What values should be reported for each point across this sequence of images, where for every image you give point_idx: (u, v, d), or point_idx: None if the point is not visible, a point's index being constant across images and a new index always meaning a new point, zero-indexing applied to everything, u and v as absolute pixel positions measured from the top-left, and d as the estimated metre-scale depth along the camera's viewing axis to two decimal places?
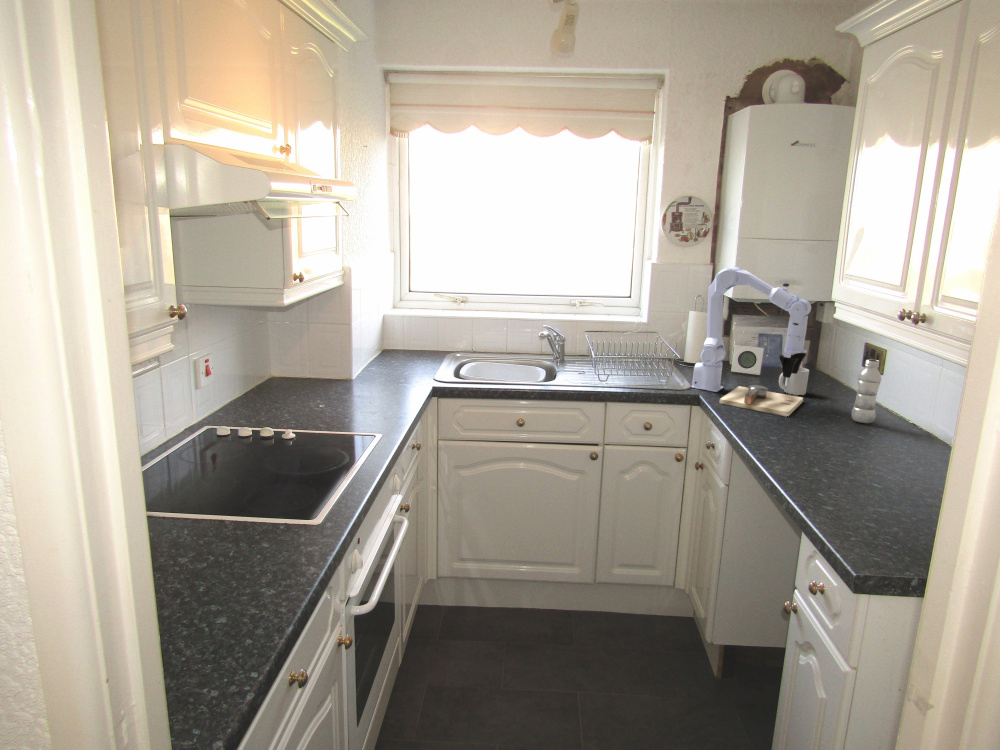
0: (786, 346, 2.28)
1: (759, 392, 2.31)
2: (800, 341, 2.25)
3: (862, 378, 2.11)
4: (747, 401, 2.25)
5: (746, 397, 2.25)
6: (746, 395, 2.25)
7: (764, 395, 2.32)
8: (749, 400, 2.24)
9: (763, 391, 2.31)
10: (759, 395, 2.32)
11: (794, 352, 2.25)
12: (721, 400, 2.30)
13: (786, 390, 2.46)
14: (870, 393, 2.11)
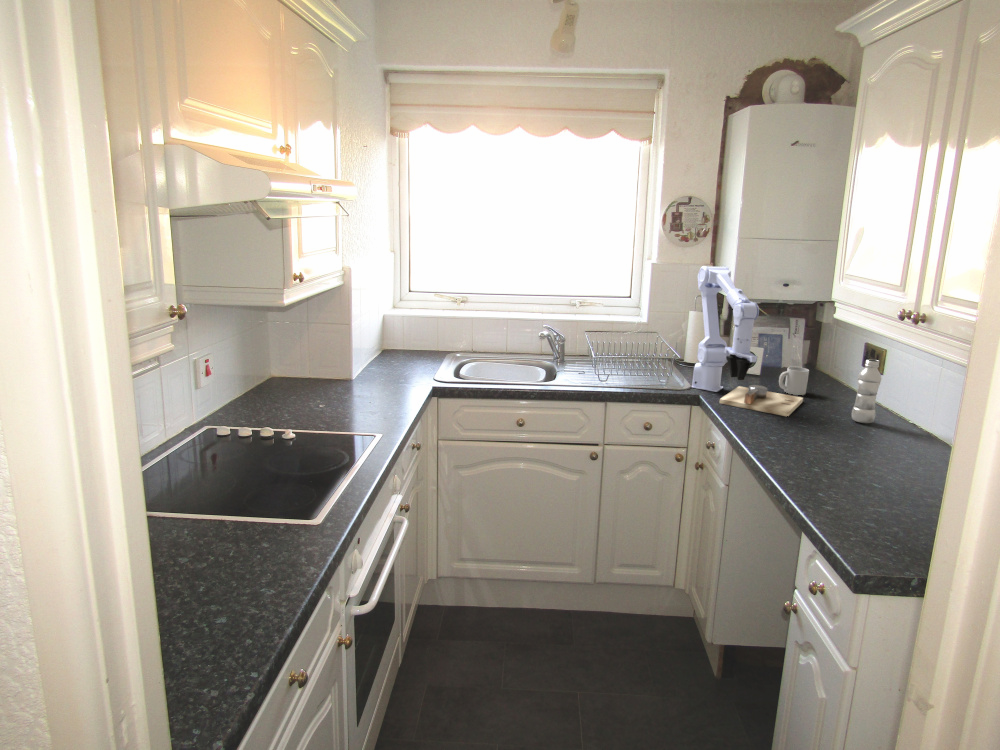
0: None
1: (759, 392, 2.31)
2: None
3: (862, 378, 2.11)
4: (747, 401, 2.25)
5: (746, 397, 2.25)
6: (746, 395, 2.25)
7: (764, 395, 2.32)
8: (749, 400, 2.24)
9: (763, 391, 2.31)
10: (759, 395, 2.32)
11: (728, 349, 2.32)
12: (721, 400, 2.30)
13: (786, 390, 2.46)
14: (870, 393, 2.11)
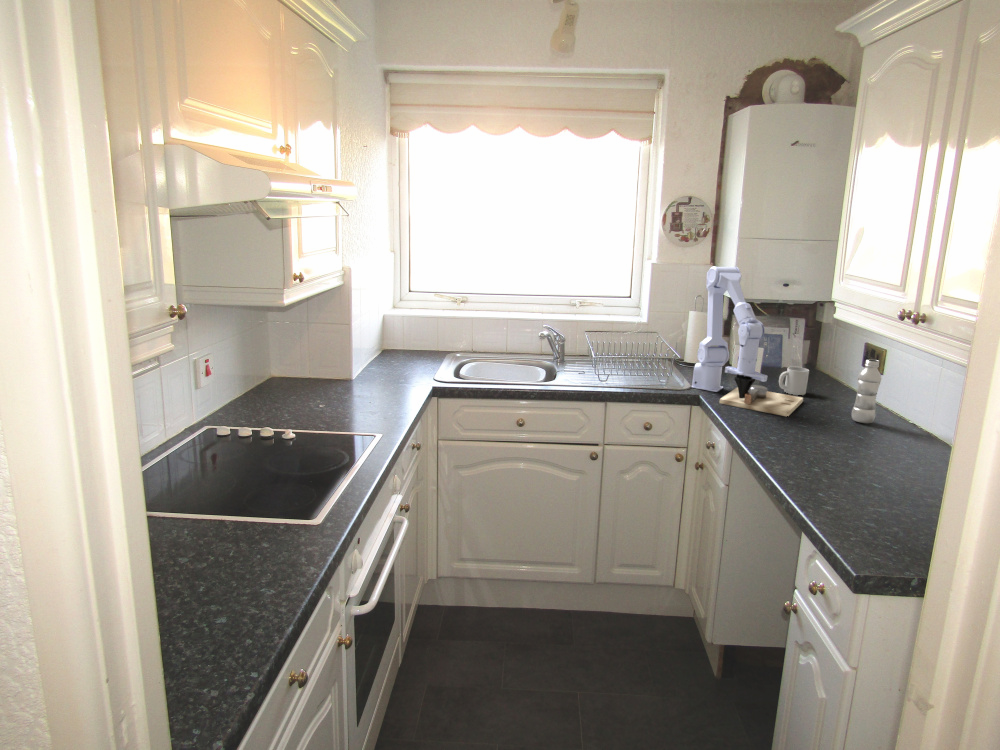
0: None
1: (759, 392, 2.31)
2: (738, 362, 2.26)
3: (862, 378, 2.11)
4: (747, 401, 2.25)
5: (746, 397, 2.25)
6: (746, 395, 2.25)
7: (764, 395, 2.32)
8: (749, 400, 2.24)
9: (763, 391, 2.31)
10: (759, 395, 2.32)
11: (730, 369, 2.29)
12: (721, 400, 2.30)
13: (786, 390, 2.46)
14: (870, 393, 2.11)
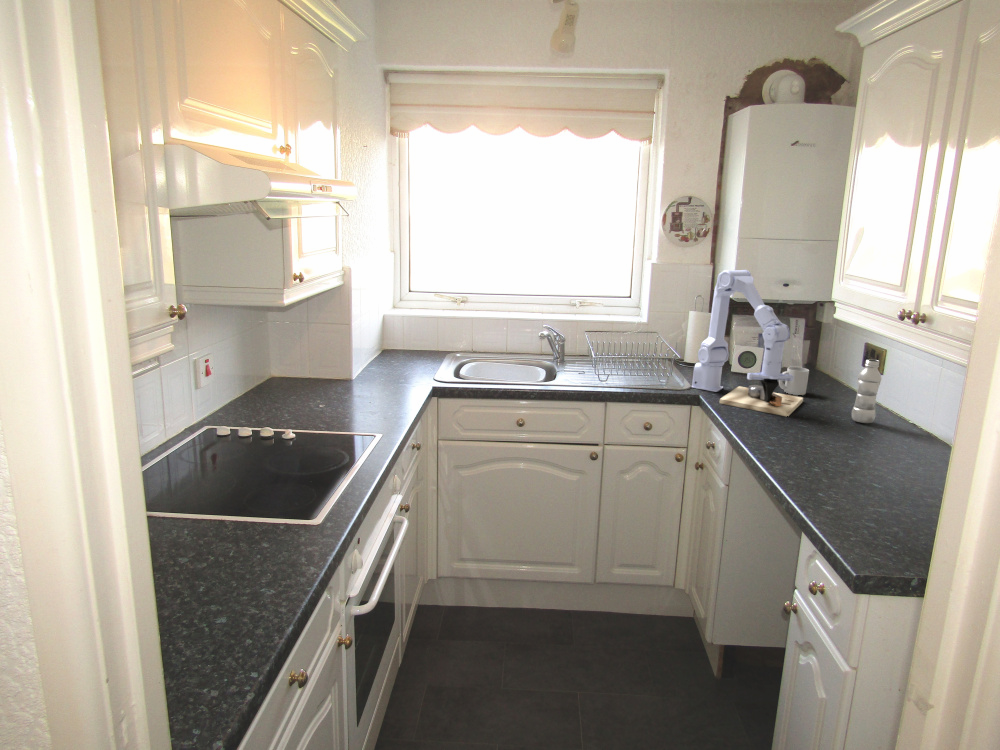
0: None
1: None
2: (768, 366, 2.21)
3: (862, 378, 2.11)
4: (778, 404, 2.23)
5: (777, 400, 2.23)
6: (777, 398, 2.23)
7: None
8: (780, 402, 2.23)
9: None
10: None
11: (758, 376, 2.22)
12: (721, 400, 2.30)
13: (786, 390, 2.46)
14: (870, 393, 2.11)
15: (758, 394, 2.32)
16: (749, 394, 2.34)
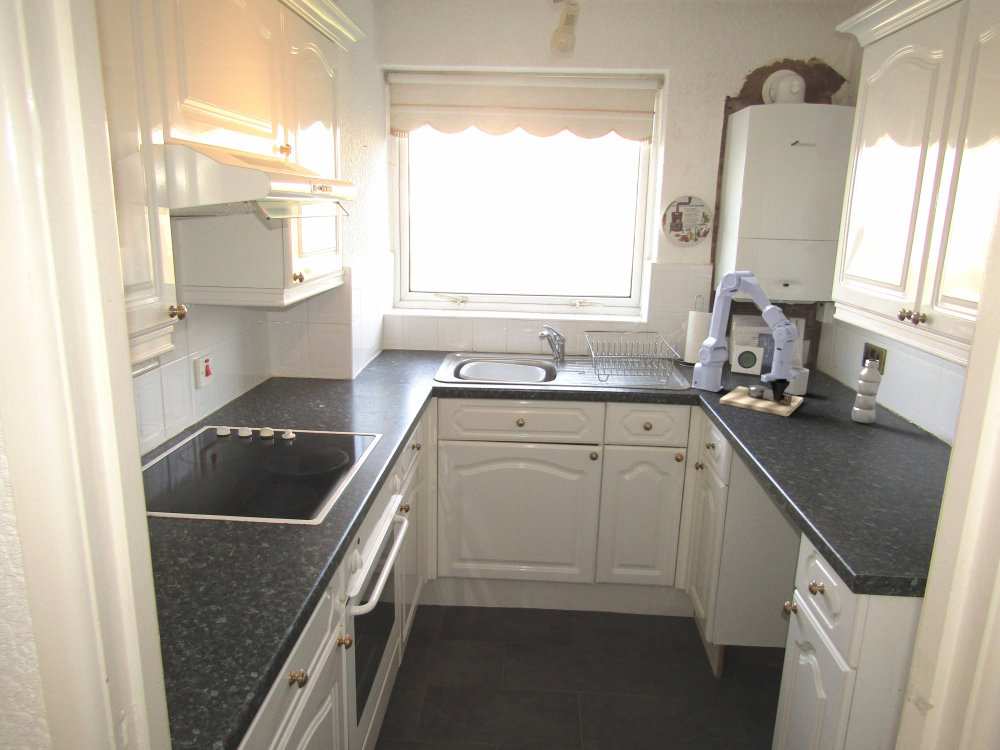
0: (771, 371, 2.25)
1: None
2: (782, 367, 2.21)
3: (862, 378, 2.11)
4: (789, 402, 2.25)
5: (789, 399, 2.25)
6: (789, 397, 2.24)
7: None
8: (790, 401, 2.25)
9: None
10: None
11: (773, 377, 2.21)
12: (721, 400, 2.30)
13: (786, 390, 2.46)
14: (870, 393, 2.11)
15: (762, 394, 2.31)
16: (752, 395, 2.33)
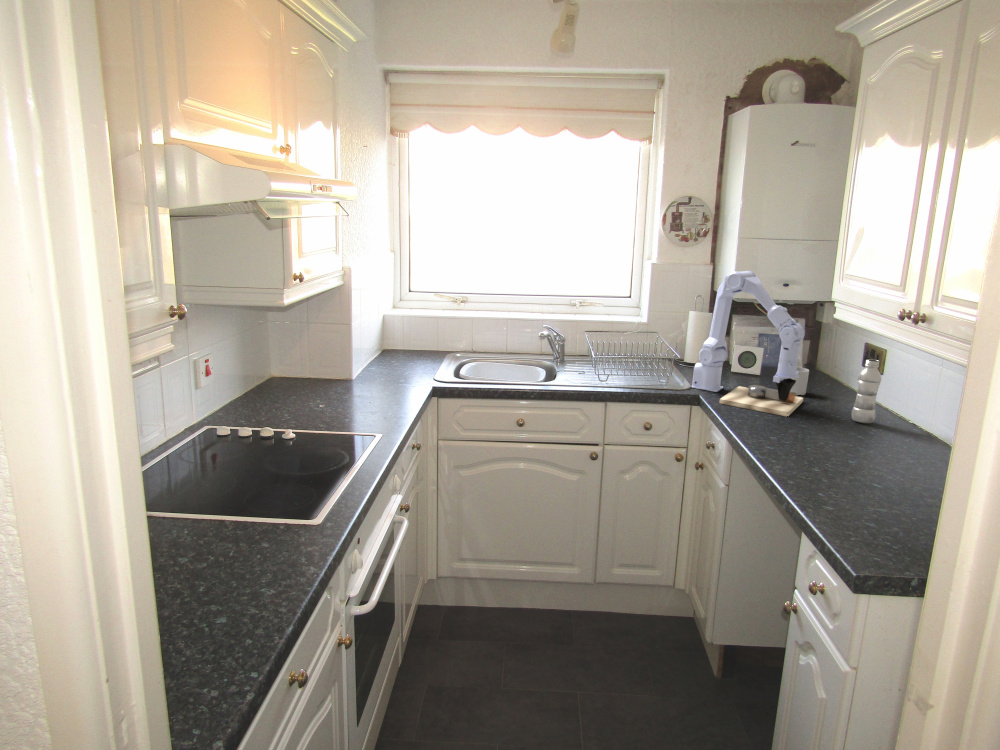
0: (778, 371, 2.26)
1: None
2: (791, 366, 2.22)
3: (862, 378, 2.11)
4: (794, 400, 2.28)
5: (794, 396, 2.28)
6: (795, 395, 2.28)
7: None
8: (794, 398, 2.29)
9: None
10: None
11: (784, 377, 2.22)
12: (721, 400, 2.30)
13: None
14: (870, 393, 2.11)
15: (764, 394, 2.32)
16: (755, 396, 2.32)
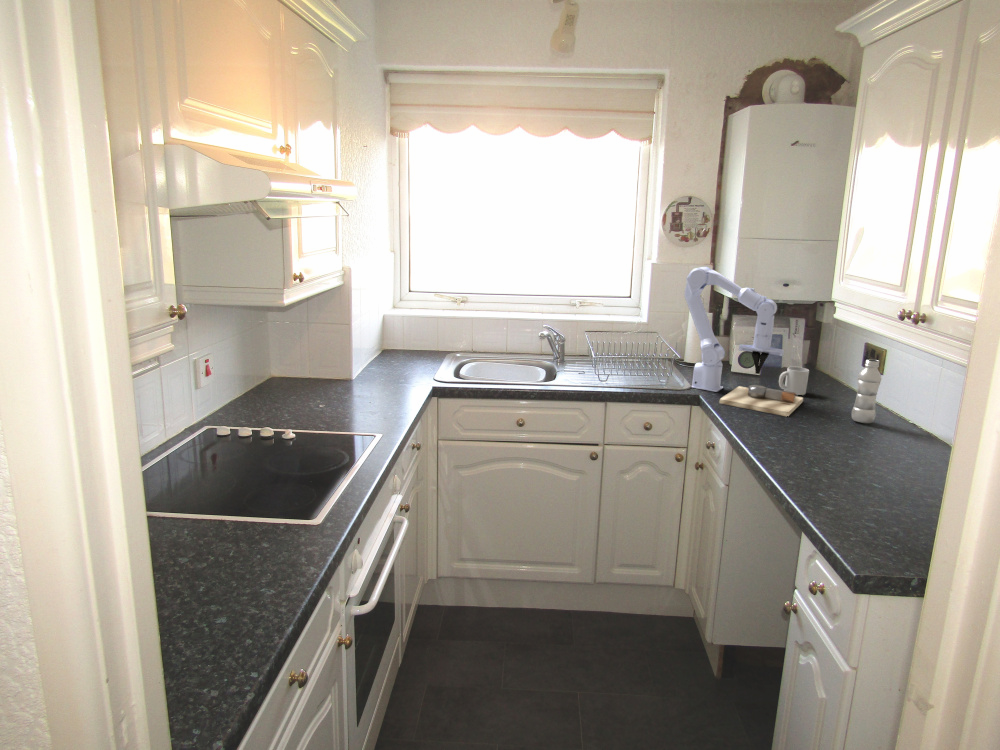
0: None
1: None
2: (756, 339, 2.35)
3: (862, 378, 2.11)
4: (794, 400, 2.28)
5: (794, 396, 2.28)
6: (795, 395, 2.28)
7: None
8: (794, 398, 2.29)
9: None
10: None
11: (746, 347, 2.38)
12: (721, 400, 2.30)
13: (786, 390, 2.46)
14: (870, 393, 2.11)
15: (764, 394, 2.32)
16: (755, 396, 2.32)
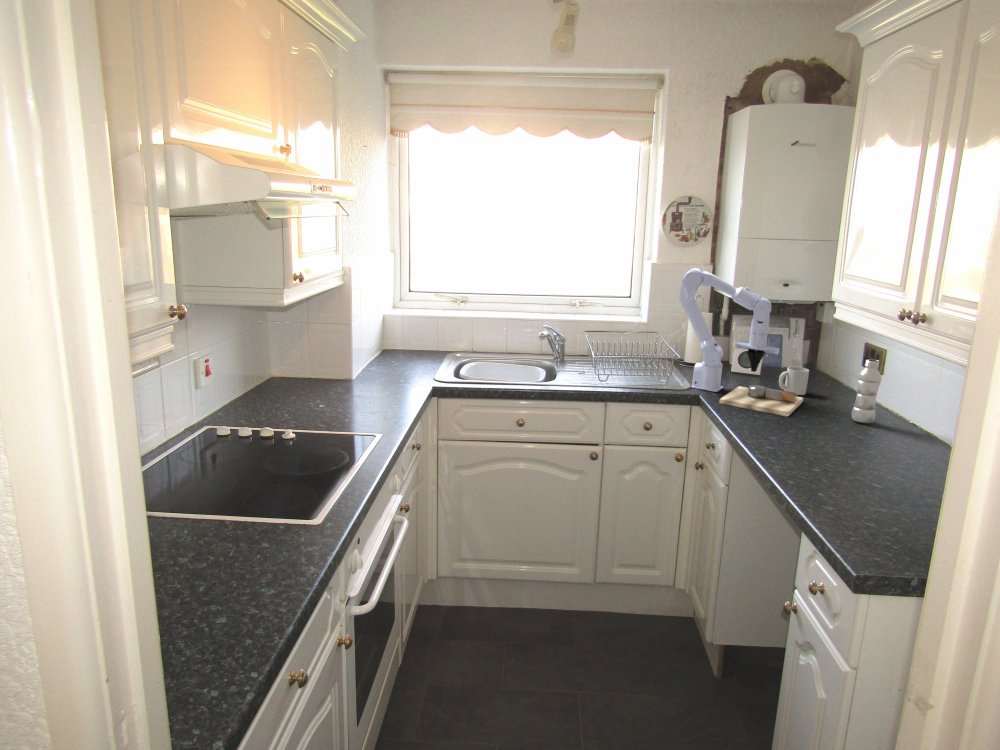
0: None
1: None
2: (751, 337, 2.38)
3: (862, 378, 2.11)
4: (794, 400, 2.28)
5: (794, 396, 2.28)
6: (795, 395, 2.28)
7: None
8: (794, 398, 2.29)
9: None
10: None
11: (742, 345, 2.41)
12: (721, 400, 2.30)
13: (786, 390, 2.46)
14: (870, 393, 2.11)
15: (764, 394, 2.32)
16: (755, 396, 2.32)
